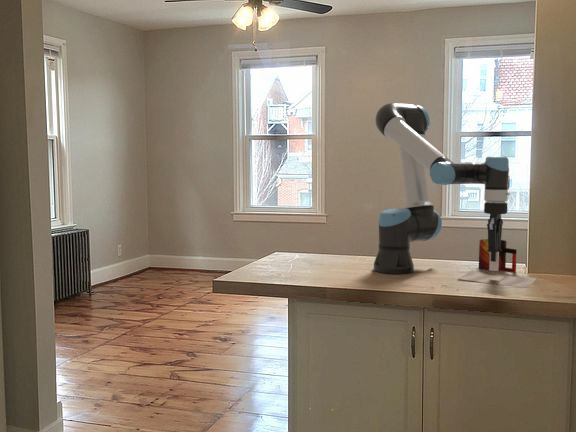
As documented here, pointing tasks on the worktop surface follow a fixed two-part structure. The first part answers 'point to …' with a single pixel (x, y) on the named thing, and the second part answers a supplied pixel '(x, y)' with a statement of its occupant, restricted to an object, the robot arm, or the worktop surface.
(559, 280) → the worktop surface
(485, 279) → the plank
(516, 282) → the laid plank
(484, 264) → the mug
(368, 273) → the worktop surface
